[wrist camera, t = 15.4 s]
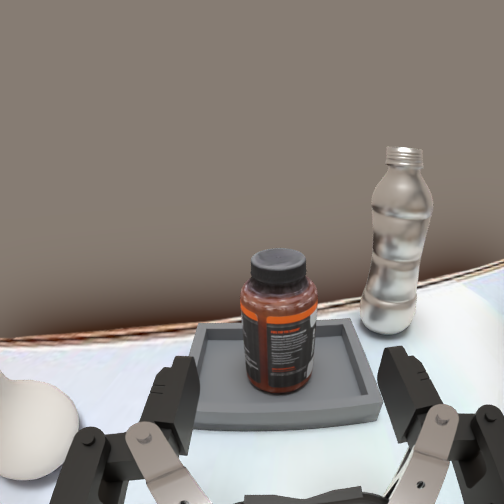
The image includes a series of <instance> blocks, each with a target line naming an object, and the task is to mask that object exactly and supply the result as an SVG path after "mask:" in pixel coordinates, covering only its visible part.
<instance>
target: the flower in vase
mask: <svg viewBox="0 0 504 504" xmlns="http://www.w3.org/2000/svg"><path fill="white" fill-rule="evenodd" d="M78 430H79V416H78V412H77V409H76V407H75V405H74V403H73V401H72V400H71V399H70V398H69V397H68V396H67V395H66V394H65V393H64V392H62V391H61V390H60V389H58V388H57V387H55V386H53V385H51V384H48V383H45V382H40V381H34V380H10V379H8V378H7V377H5V375H4V374H3V373H2V372H1V371H0V475H1V476H3V477H5V478H9V479H13V480H33V479H38V478H41V477H44V476H46V475H48V474H50V473H51V472H53V471H54V470H56V469H57V468H58V467H59V466H60V465H62V464H63V462H64V461H65V458H66V456H67V453H68V451H69V448H70V446H71V443H72V441H73V438H74V436H75V434H76V433H77V432H78Z"/></svg>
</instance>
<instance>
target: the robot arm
mask: <svg viewBox="0 0 504 504" xmlns="http://www.w3.org/2000/svg"><path fill="white" fill-rule="evenodd" d="M377 381H378V386H379V389H380V392H381V395H382V397H383V400H384V403H385V406H386V409H387V412H388V414H389V417H390V420H391V423H392V426H393V429H394V432H395V435H396V438H397V441H398V444H399V443H403V442H408V445H409V447H408V449H407V451H406V453H405V455H404V457H403V459H402V461H401V464H400V466H399V468H398V470H397V472H396V474H395V476H394V477H393V479H392V481H391V483H390V485H389V486H388V488H387V490H386V491H385V493H384V494H383V496H380V495H376V494H373V493H366V492H362V489H361V486H357V487H351V488H345V489H338V490H332V491H329V492H327V493H324V494H321V495H318V496H314V497H311V498H308V499H296V498H290V497H283V496H277V495H245V496H244V501H243V502H238V503H235V504H435V502H436V499H437V497H438V494H439V492H440V489H441V487H442V484H443V481H444V479H445V476H446V473H447V470H448V467H449V464H450V461H452V464H453V467H454V470H455V473H456V477H457V480H458V483H459V487H460V490H461V494H462V497H463V501H464V504H504V416H503V414H502V412H501V411H500V409H499V408H497V407H496V406H493V405H483V406H481V407H480V408H479V409H478V410H477V412H476V414H459V413H457V411H456V410H455V409H454V408H453V407H451V406H449V405H446V404H443V402H442V400H441V399H440V397H439V395H438V393H437V391H436V389H435V387H434V385H433V383H432V381H431V379H429V376H428V374H427V373H426V370H425V368H424V366H423V365H422V363H421V362H420V361H419V360H418V359H417V358H415V357H414V356H408V355H407V353H406V351H405V349H404V348H403V346H395V347H388V348H385V349H384V351H383V355H382V359H381V363H380V367H379V370H378V375H377ZM199 396H200V381H199V376H198V372H197V367H196V363H195V359H194V357H193V356H176V357H175V358H174V361H173V364H172V367H171V368H169V367H164V368H163V369H162V370H161V371H160V372H159V373H158V374H157V375H156V377H155V380H154V383H153V386H152V388H151V391H150V394H149V396H148V399H147V402H146V405H145V407H144V410H143V413H142V416H141V418H140V421H139V423H136V424H134V425H132V426H131V427H130V428H129V429H128V430H127V432H124V433H117V434H107V435H104V433H103V432H102V431H101V430H100V429H98V428H96V427H85V428H83V429H81V430H79V431H78V432H77V433H76V434H75V436H74V438H73V441H72V443H71V446H70V448H69V451H68V453H67V456H66V458H65V461H64V464H63V466H62V469H61V472H60V474H59V477H58V480H57V483H56V486H55V488H54V491H53V494H52V497H51V500H50V503H49V504H124V500H125V495H126V491H127V486H128V482H129V480H140V479H145V480H146V484H147V486H148V488H149V490H150V492H151V494H152V496H153V497H154V499H155V501H156V502H157V504H212V503H211V501H210V500H209V499H208V497H207V496H206V495H205V493H204V492H203V491H202V489H201V488H200V487H199V485H198V484H197V482H196V481H195V480H194V478H193V477H192V475H191V474H190V473H189V471H188V470H187V469H186V467H184V466H183V464H182V463H181V461H180V460H179V455H185V456H187V455H188V450H189V445H190V440H191V435H192V430H193V425H194V420H195V415H196V411H197V406H198V401H199Z"/></svg>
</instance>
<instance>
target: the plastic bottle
mask: <svg viewBox="0 0 504 504" xmlns="http://www.w3.org/2000/svg"><path fill="white" fill-rule="evenodd" d="M385 164H386V165H388V166H389V167H388V172H387V173H386V174H385V175H384V177H383V178H382V179H381V180H380V182H379V183H378V185H377V186H376V188H375V190H374V193H373V195H372V219H373V252H372V261H371V266H370V272H369V276H368V280H367V285H366V287H365V289H364V292H363V295H362V298H361V301H360V317H361V319H362V321H363V323H364V325H365V326H366V327H367V328H368V329H370V330H371V331H373V332H376V333H379V334H385V335H391V334H397V333H400V332H402V331H403V330H404V329H405V328H407V327H408V326H409V325H410V323H411V321H412V319H413V317H414V314H415V311H416V301H417V295H416V291H417V282H418V274H419V273H418V272H419V265H420V261H421V255H422V251H423V247H424V242H425V238H426V234H427V231H428V227H429V224H430V220H431V215H432V211H433V206H434V204H433V198H432V195H431V192H430V190H429V188H428V186H427V184H426V183H425V181H424V179H423V178H422V176H421V172H420V169H423V152H422V150H419V149H411V148H403V147H387V160H386V163H385Z"/></svg>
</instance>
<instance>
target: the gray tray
mask: <svg viewBox="0 0 504 504" xmlns="http://www.w3.org/2000/svg"><path fill="white" fill-rule="evenodd" d="M189 356H193V357H194V359H195V363H196V367H197V372H198V376H199V381H200V396H199V401H198V406H197V411H196V415H195V420H194V425H193V429H201V430H220V431H279V430H299V429H313V428H324V427H334V426H342V425H350V424H358V423H364V422H371V421H376V420H377V418H378V415H379V412H380V410H381V407H382V404H383V399H382V397H381V394H380V391H379V389H378V386H377V383H376V381H375V378H374V376H373V373H372V371H371V368H370V365H369V363H368V360H367V358H366V355H365V353H364V350H363V348H362V345H361V343H360V341H359V338H358V336H357V333H356V331H355V329H354V326H353V324H352V321H351V319H350V318H346V319H331V320H316V332H315V347H314V360H313V368H312V374H311V377H310V379H309V380H308V381H307V382H306V384H305V385H303V386H302V387H300V388H299V389H297V390H294V391H291V392H286V393H270V392H267V391H264V390H261V389H259V388H257V387H256V386H254V385H253V384H252V383H251V381H250V380H249V378H248V376H247V371H246V364H245V352H244V340H243V328H242V323H198V326H197V330H196V333H195V336H194V340H193V343H192V346H191V350H190V353H189Z"/></svg>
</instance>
